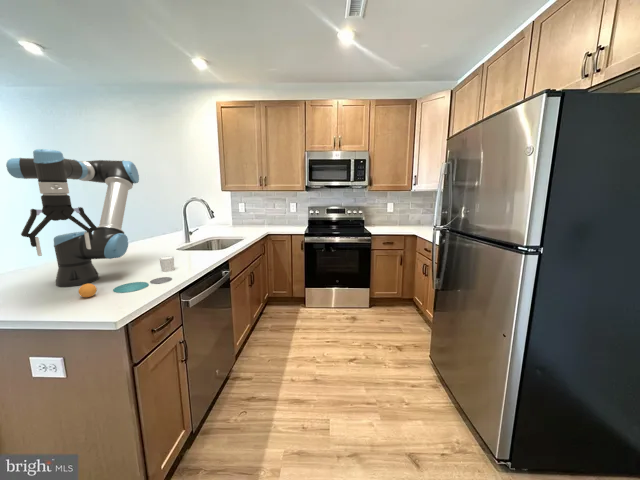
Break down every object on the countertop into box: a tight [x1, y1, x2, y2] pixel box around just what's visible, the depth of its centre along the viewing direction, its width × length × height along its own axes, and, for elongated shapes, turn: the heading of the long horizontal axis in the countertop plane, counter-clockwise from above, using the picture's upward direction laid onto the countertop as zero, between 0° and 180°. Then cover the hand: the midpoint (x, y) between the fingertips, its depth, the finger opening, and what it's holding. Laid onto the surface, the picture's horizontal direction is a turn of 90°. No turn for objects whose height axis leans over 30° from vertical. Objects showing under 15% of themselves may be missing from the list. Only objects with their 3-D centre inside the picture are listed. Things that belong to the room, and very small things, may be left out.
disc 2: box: [149, 276, 173, 285], centre depth 127 cm, size 9×9×1 cm
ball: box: [78, 283, 98, 298], centre depth 107 cm, size 6×6×6 cm
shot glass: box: [158, 256, 175, 273], centre depth 143 cm, size 7×7×7 cm
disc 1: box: [112, 281, 149, 294], centre depth 118 cm, size 13×13×1 cm
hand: (65, 252), depth 100 cm, fingers open, 13 cm apart
